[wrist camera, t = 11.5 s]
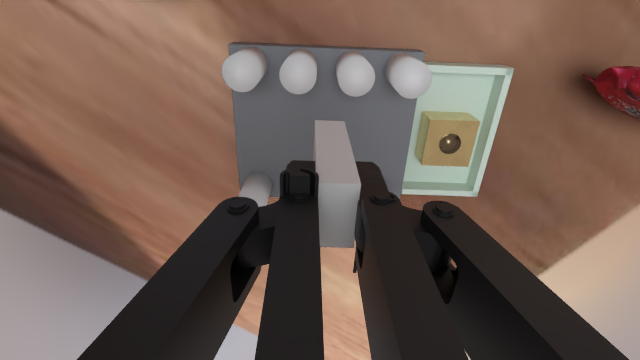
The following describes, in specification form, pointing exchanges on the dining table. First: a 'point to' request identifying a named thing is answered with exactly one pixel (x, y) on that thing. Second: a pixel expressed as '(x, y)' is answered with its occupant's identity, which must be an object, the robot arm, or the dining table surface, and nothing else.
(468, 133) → the gold block with knob
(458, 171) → the tray
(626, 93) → the decorative bird figurine
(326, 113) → the board
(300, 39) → the dining table surface
